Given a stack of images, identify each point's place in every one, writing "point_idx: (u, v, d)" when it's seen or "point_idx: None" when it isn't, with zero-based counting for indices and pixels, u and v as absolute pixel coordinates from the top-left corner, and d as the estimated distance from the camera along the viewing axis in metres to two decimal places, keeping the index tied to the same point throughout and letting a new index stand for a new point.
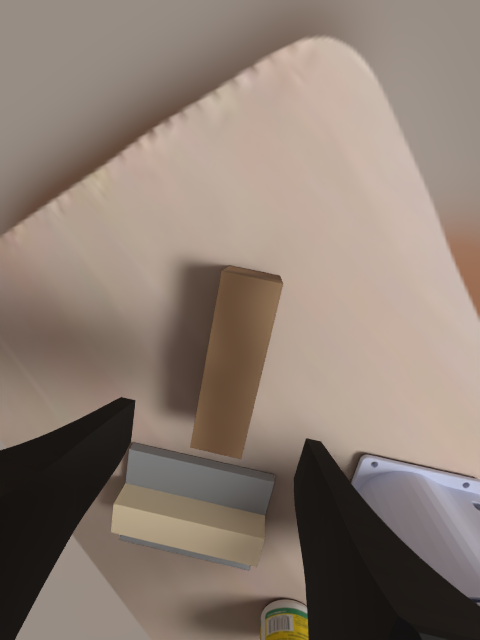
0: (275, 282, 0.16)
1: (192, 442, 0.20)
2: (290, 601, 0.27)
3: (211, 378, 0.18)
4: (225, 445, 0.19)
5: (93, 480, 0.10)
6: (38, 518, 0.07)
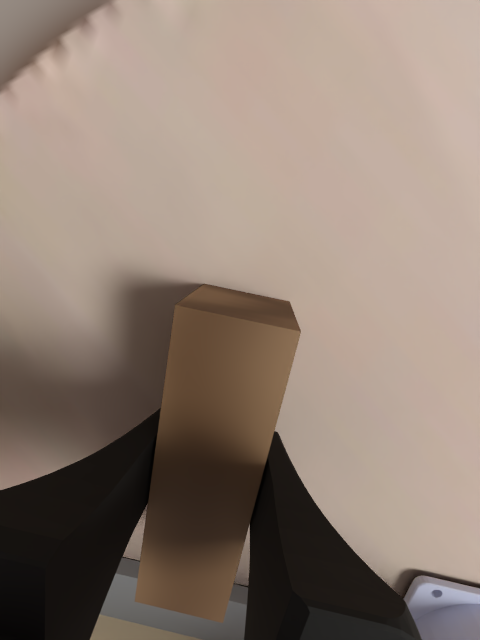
0: (285, 328, 0.08)
1: (137, 594, 0.11)
2: None
3: (164, 498, 0.10)
4: (195, 601, 0.11)
5: (144, 492, 0.10)
6: (107, 534, 0.07)
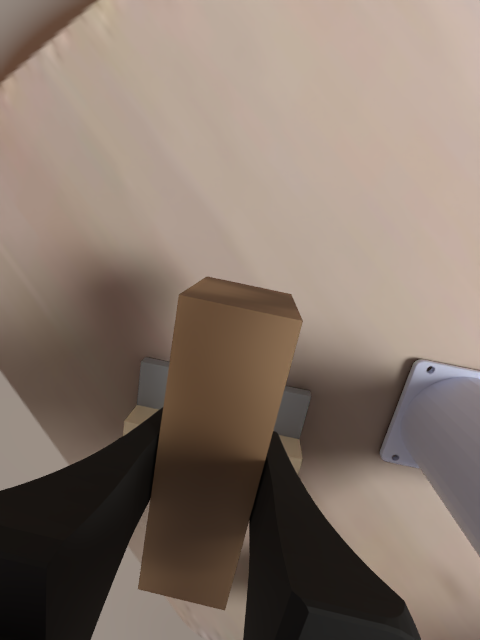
0: (286, 317, 0.08)
1: (141, 582, 0.11)
2: None
3: (167, 486, 0.10)
4: (197, 589, 0.11)
5: (144, 492, 0.10)
6: (108, 534, 0.07)
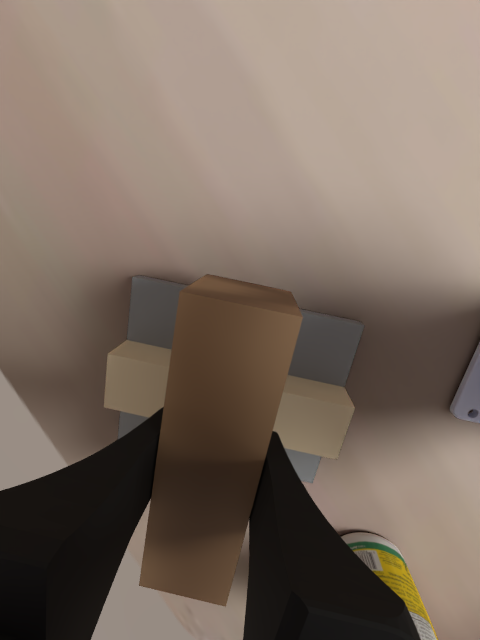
0: (287, 314, 0.08)
1: (142, 578, 0.11)
2: (368, 534, 0.19)
3: (168, 482, 0.10)
4: (198, 585, 0.11)
5: (145, 492, 0.10)
6: (108, 535, 0.07)
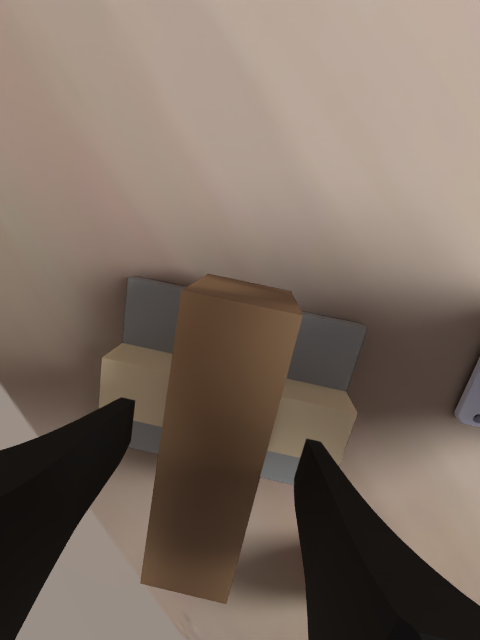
0: (287, 312, 0.08)
1: (143, 576, 0.12)
2: None
3: (170, 480, 0.10)
4: (199, 583, 0.11)
5: (93, 480, 0.10)
6: (38, 518, 0.07)
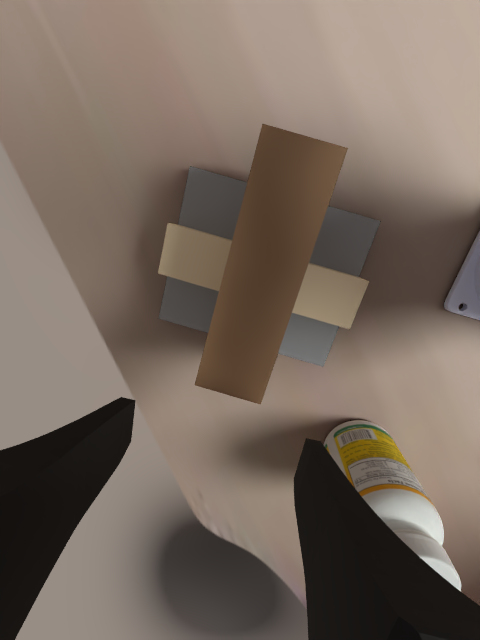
0: (336, 146, 0.12)
1: (198, 378, 0.15)
2: (365, 421, 0.22)
3: (231, 288, 0.13)
4: (241, 384, 0.15)
5: (93, 480, 0.10)
6: (38, 518, 0.07)
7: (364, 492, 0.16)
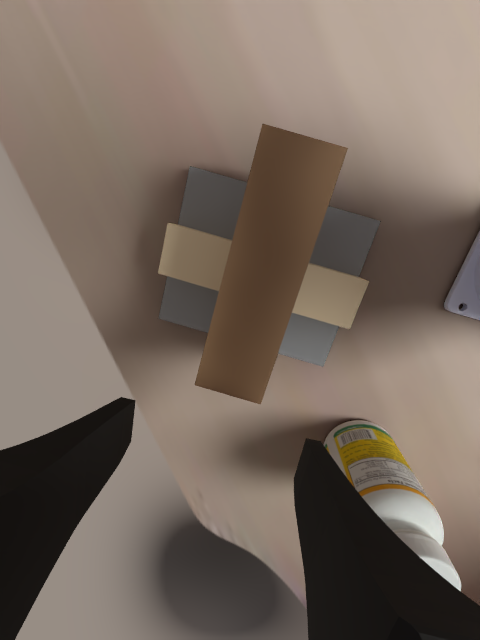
0: (336, 146, 0.12)
1: (198, 378, 0.15)
2: (365, 421, 0.22)
3: (231, 288, 0.13)
4: (241, 384, 0.15)
5: (93, 480, 0.10)
6: (38, 518, 0.07)
7: (364, 492, 0.16)
